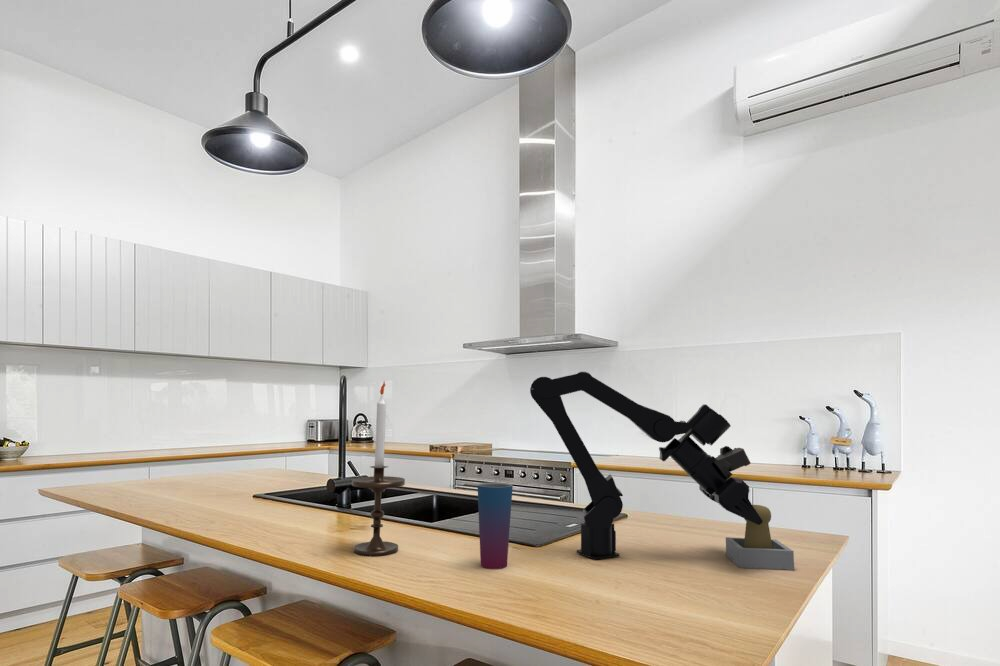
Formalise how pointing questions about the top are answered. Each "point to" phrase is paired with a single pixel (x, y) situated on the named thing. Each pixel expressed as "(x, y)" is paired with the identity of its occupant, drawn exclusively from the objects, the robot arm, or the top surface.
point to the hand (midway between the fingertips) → (753, 518)
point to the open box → (760, 555)
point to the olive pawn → (758, 530)
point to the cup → (494, 523)
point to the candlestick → (378, 490)
